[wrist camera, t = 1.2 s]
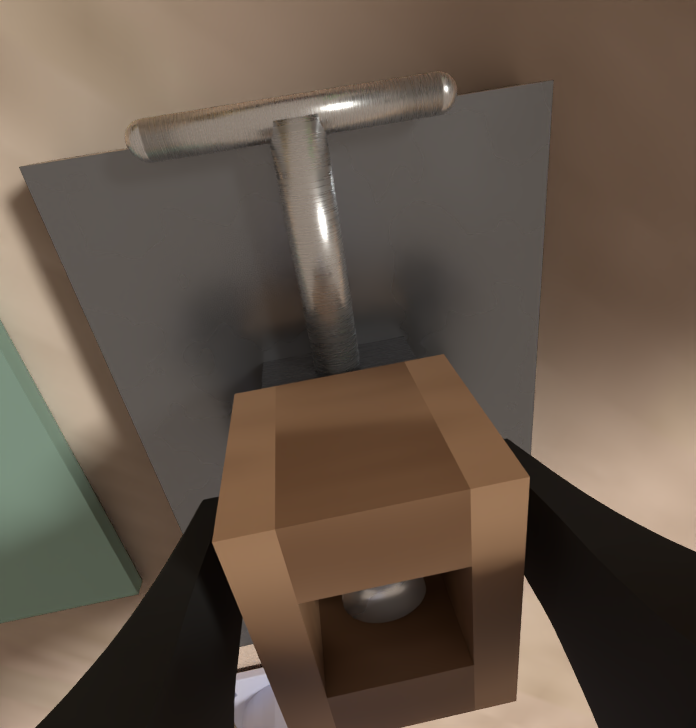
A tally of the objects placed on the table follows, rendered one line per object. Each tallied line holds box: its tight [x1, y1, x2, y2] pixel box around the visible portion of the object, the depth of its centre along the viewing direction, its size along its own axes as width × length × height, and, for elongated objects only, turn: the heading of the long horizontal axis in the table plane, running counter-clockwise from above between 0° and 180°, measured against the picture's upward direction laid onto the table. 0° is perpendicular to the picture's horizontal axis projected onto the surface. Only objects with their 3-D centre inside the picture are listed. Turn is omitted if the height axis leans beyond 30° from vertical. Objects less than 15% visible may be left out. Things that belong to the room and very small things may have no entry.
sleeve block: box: [212, 354, 530, 728], centre depth 11 cm, size 7×5×4 cm
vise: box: [19, 71, 554, 647], centre depth 13 cm, size 18×12×7 cm, turn 8°
